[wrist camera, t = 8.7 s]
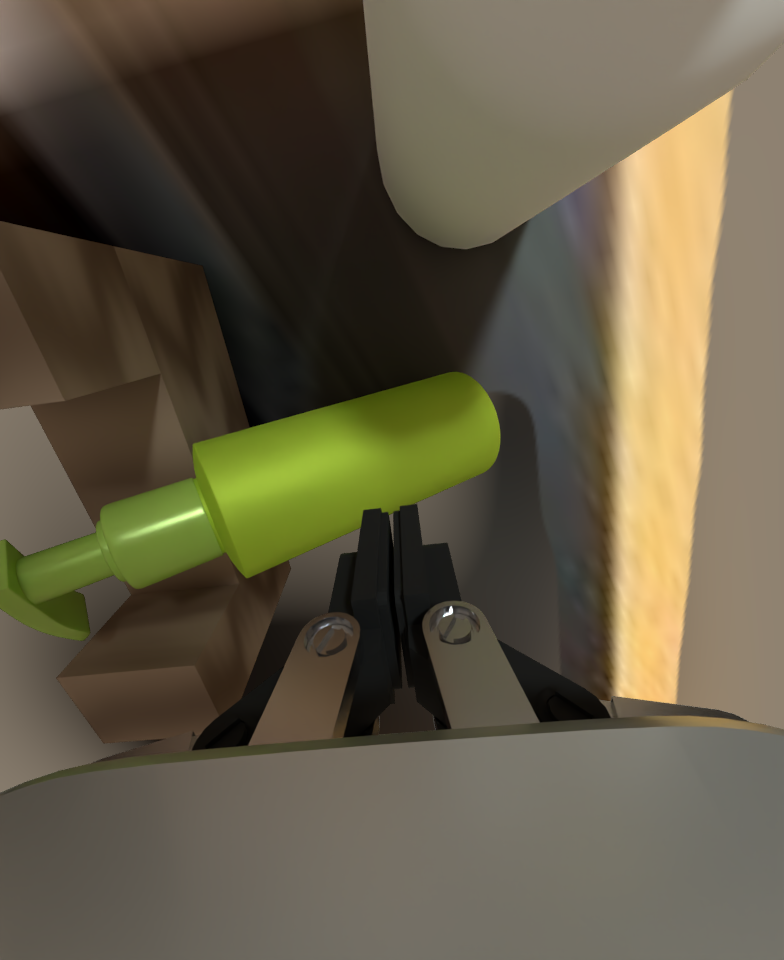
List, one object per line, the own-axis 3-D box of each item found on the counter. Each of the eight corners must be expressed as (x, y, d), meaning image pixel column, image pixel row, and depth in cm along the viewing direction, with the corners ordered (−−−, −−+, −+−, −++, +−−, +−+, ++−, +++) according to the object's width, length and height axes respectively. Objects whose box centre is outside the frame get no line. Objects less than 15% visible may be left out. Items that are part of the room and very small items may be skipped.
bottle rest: (94, 281, 20) (-254, 251, 9) (202, 265, 20) (-27, 215, 9) (213, 576, 28) (103, 743, 18) (290, 568, 28) (227, 733, 17)
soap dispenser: (417, 439, 25) (58, 568, 17) (443, 349, 20) (-64, 472, 12) (471, 503, 23) (76, 696, 14) (518, 419, 17) (-72, 648, 9)
